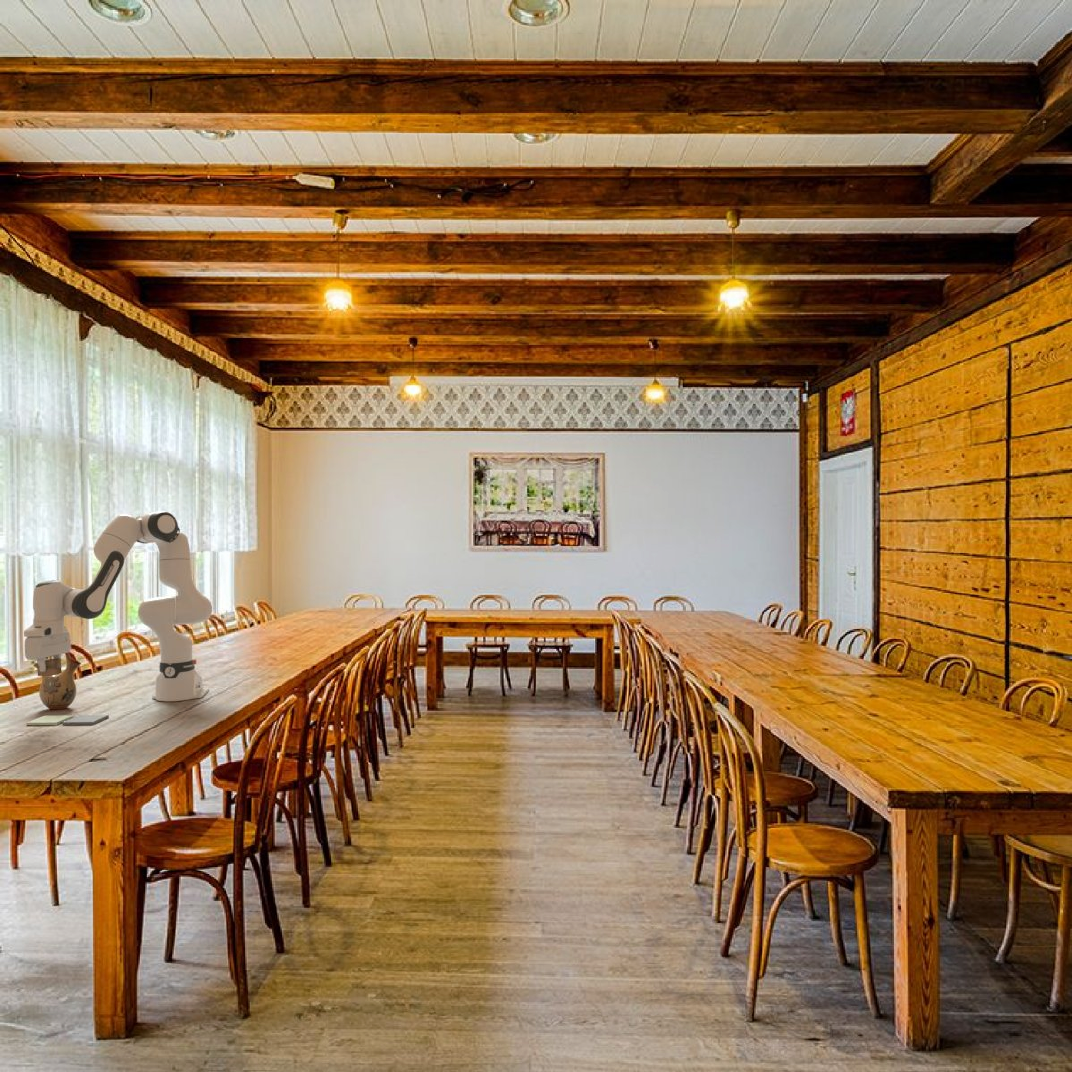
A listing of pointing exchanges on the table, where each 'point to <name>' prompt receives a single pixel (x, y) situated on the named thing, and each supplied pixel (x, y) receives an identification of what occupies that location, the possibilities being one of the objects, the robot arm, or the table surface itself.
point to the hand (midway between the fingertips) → (49, 669)
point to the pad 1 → (50, 720)
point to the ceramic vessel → (59, 686)
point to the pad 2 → (85, 719)
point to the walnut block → (51, 667)
